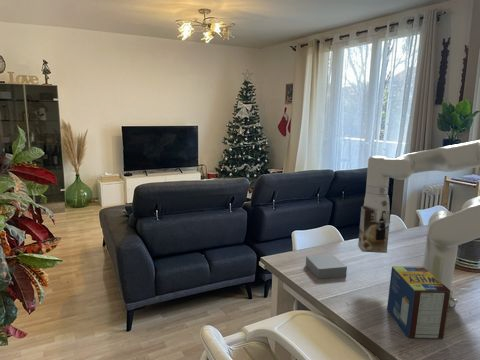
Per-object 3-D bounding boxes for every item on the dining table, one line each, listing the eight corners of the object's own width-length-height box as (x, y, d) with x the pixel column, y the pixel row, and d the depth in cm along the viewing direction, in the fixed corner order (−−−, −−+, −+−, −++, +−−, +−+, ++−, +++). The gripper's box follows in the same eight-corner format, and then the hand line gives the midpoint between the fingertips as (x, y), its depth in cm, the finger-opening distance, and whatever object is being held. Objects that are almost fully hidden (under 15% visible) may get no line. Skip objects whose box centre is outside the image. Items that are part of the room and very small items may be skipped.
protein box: (417, 309, 116) (423, 266, 113) (443, 339, 101) (451, 290, 97) (385, 308, 116) (391, 265, 113) (407, 338, 101) (414, 289, 97)
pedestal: (346, 276, 138) (346, 266, 137) (317, 278, 135) (318, 269, 134) (331, 263, 149) (332, 254, 148) (305, 265, 146) (306, 256, 146)
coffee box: (361, 252, 128) (364, 210, 125) (357, 245, 135) (360, 205, 132) (387, 253, 128) (391, 211, 125) (382, 246, 134) (385, 206, 131)
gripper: (401, 194, 119) (397, 243, 123) (372, 184, 136) (369, 227, 139) (382, 195, 118) (378, 245, 121) (354, 185, 134) (351, 229, 138)
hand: (373, 235), depth 130 cm, fingers closed on coffee box, 7 cm apart
